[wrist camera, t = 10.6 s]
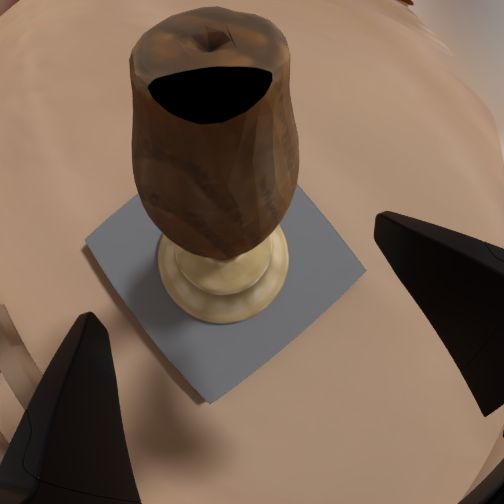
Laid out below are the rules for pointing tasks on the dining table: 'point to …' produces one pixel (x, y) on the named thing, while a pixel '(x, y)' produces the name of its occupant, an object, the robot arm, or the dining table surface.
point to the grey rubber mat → (235, 334)
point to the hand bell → (216, 157)
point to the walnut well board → (16, 366)
